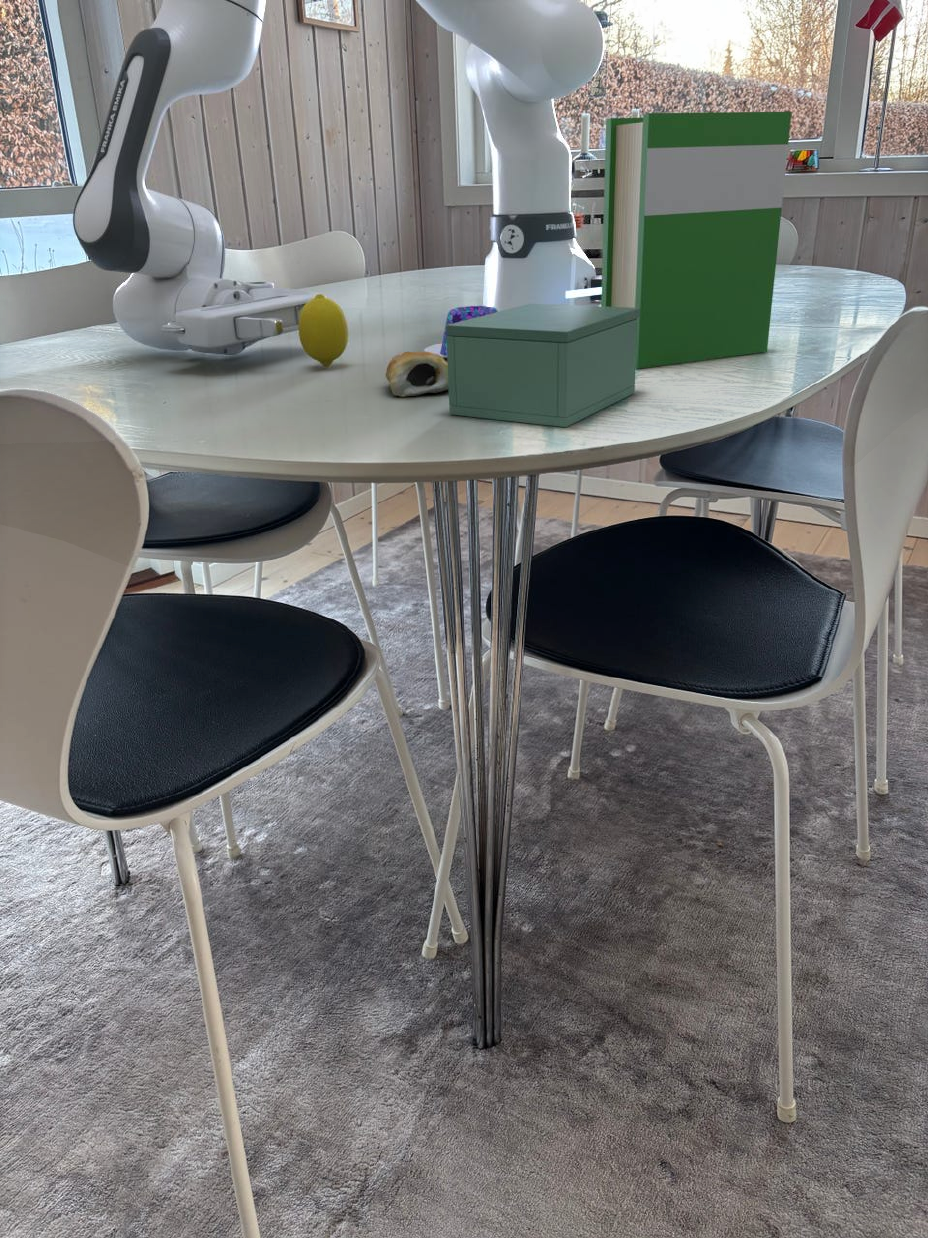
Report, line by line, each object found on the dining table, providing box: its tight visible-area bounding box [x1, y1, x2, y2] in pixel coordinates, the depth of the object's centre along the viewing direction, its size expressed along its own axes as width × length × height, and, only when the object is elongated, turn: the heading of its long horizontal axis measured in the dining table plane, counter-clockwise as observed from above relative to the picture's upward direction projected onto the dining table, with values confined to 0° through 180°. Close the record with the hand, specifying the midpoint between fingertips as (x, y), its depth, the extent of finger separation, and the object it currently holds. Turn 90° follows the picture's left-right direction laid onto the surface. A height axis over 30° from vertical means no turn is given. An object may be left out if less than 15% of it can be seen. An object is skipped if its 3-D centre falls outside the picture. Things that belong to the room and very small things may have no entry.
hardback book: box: [601, 111, 792, 370], centre depth 99 cm, size 18×7×24 cm, turn 115°
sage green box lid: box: [445, 304, 641, 343], centre depth 82 cm, size 15×12×1 cm
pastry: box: [384, 350, 449, 398], centre depth 93 cm, size 9×7×4 cm
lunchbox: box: [446, 319, 638, 428], centre depth 83 cm, size 15×12×7 cm
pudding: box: [423, 305, 498, 360], centre depth 109 cm, size 12×12×5 cm
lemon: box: [298, 293, 349, 368], centre depth 104 cm, size 6×6×8 cm
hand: (306, 321), depth 105 cm, fingers open, 8 cm apart
